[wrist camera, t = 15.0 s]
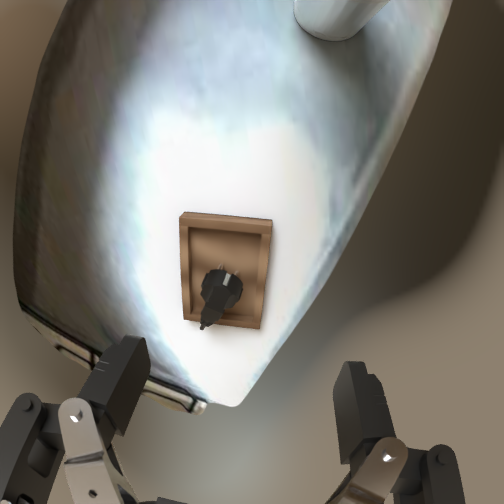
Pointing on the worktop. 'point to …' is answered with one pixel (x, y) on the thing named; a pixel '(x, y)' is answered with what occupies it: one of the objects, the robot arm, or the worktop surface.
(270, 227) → the brown tray
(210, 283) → the power plug
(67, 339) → the worktop surface
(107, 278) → the worktop surface
